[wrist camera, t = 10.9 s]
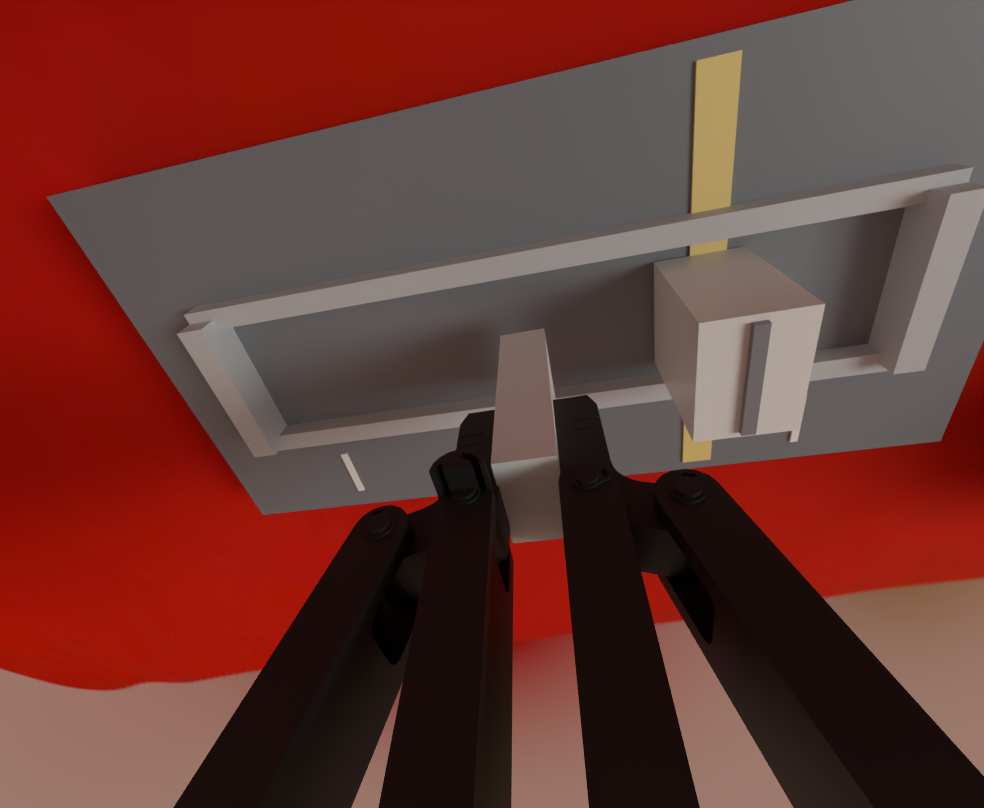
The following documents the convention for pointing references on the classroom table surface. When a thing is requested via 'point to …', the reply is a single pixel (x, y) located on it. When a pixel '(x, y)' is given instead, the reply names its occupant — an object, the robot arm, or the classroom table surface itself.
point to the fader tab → (734, 343)
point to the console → (569, 250)
